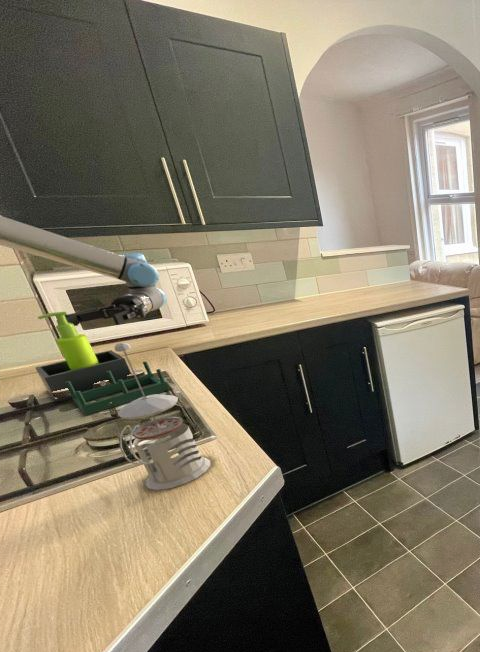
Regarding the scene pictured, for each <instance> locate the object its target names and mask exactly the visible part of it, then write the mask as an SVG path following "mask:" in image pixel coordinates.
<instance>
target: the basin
mask: <svg viewBox="0 0 480 652" xmlns="http://www.w3.org/2000/svg"><path fill="white" fill-rule="evenodd" d="M94 354H95V356H96V358H97V360H98V362H99V364H96V365H92V366H88V367H83V368H79V369H75V370H70V368H69V366H68V364H67V362H66V360H61V361H58V362H53V363H49V364H44V365H39V366H35V367H34V368H35V371H36V372H37V374H38V376H39V377H40V379H41V381H42V383H43V385H44V387H45V388H46V390H47V392H48V393H49V394H50V395H51V397H52V398H53V399H54V400H55V401H56V402H57V403H61V402H66V401H69V400H73V399H72V397H71V396H69V397H66V398H58V399H55V398H54V396H53V395H52V392H53V391H57V390H61V389H65V388H68V387H67V385H66V383H65V382H67V381H70V382H71V384H72V386H73V388H74V390H75V392H76V391H80V392H83V391H87V390H91V389H93V384H94V383H97V382H99V381H103V380H109V382H110V379H109V377H108V375H107V373H106V371H111V373H112V375H113V378H114V380H115V382H118V380H120V379H122V380H123V381H124V380H127V375H129V374H132V372H131V370H130V369H131V368H130V366H129V364H128V362H127V360H126V359H125V358H126V357H125V358H124V357H123V356H122V355H120V354H118V353H117V352H116V351H113V350H112V349H110V350H107V351H106V350H104V351H101V352H97V353H94ZM110 383H111V382H110Z"/></svg>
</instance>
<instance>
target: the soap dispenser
mask: <svg viewBox="0 0 480 652" xmlns="http://www.w3.org/2000/svg"><path fill="white" fill-rule="evenodd" d="M67 314H68V313H67V311H56V312H55V311H54V312H48V313H45V314H42V315H39V316H38V317H37V320H42V319H43V320H44V319H45V318H50V317H55V319H56V320H57V321H58V323H59V324H58V323H57V325H55V329H56V331H57V332H58V334H59V336H60V337H59V338H57V339H56V340H55V342H56V344H57V347H58V348H59V350H60V352H61V354H62V356H63V359H64V361H66V362H67V364H68V366H69V368H70V370H75V369H79V368H83V367H88V366H92V365H96V364H99V362H98V360H97V358H96V356H95V354H96V353H95V351H94V349H93V347H92V345H91V343H90V341H89V339H88V337H87V335H86V334H84V333H83V334H81V333H80V334H79V332H78V330H77V328H76V326H74V324H73V323H68V322H67V319H66V317H65V315H67ZM57 321H56V322H57Z"/></svg>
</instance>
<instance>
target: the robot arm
mask: <svg viewBox="0 0 480 652" xmlns="http://www.w3.org/2000/svg"><path fill="white" fill-rule="evenodd" d="M0 246H1V247H2V246H3V247H6V248H9V249H13V250H16V251H20V252H23V253H27V254H30V255H33V256H37V257H41V258H44V259H47V260H50V261H54V262H58V263H60V264H65V265H68V266H71V267H75V268H78V269H80V270H81V269H82V270H85V271H89V272H91V273H96V274H99V275H102V276H106V277H110V278H113V279H116V280H119V281H122V282H125V284H126V286H127V289H128V291H129V293H126V294H124V295H120V296H118V297H115V298H113V299H112V301H111V303H110V304H109V305H106V306H102V307H97V306H96V307H94V308H90V309H86V310H82V311H77V312H73V313H69V314H68V313H67V315H65V317H66V319H67V322H68V323H73V324H74V326H75V327H79V325H80V324H81V323H84V322H90V321H94V320H98V319H103V320H108V319H113V321H114V323H115V325H117V326H119V325H121V324H124V323H126V322H129V321H132V320H134V319H137V318H139V317H140V318H145V317H146V316H147V315H146V314H148V313H150V312H153V311H156V310H160V308H162V307H163V306H164V305H165V304H166V303H167V294H166V293H165V292H164V291H163V290H162V289H160V288H159V287H157V285H156V284H158V282H159V280H160V275H159V272H158V270H157V268H155V266H153V265H152V264H150V263H148V261H147V260H146V256H145V255H144V254H143V253H139V252H135V253H133V252H132V253H123V254H118V253H116V252H113V251H109V250H107V249H103V248H101V247H97V246H96V245H95V246H94V245H91V244H88V243H85V242H82V241H79V240H77V239H73V238H70V237H68V236H64V235H61V234H58V233H55V232H51V231H48V230H45V229H42V228H39V227H36V226H33V225H30V224H28V223H24V222H21V221H18V220H15V219H11V218H10V217H9V218H8V217H6V216H2V215H1V214H0ZM56 323H57V325H58V324H59V323H58V321H57V319H56Z"/></svg>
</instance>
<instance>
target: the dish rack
mask: <svg viewBox="0 0 480 652" xmlns="http://www.w3.org/2000/svg"><path fill="white" fill-rule="evenodd" d="M142 364H143V366H144V369H145V371H146V373H147V374H142V375H138V376H139V377H138V376H136V377H137V379H138V381H139V383H140V386H141V388H142V390H143V392H144V394H145V396H149V395H155V394H161V393H165V392H167V391H170V390H171V389H170V386H169V383H168V381H166V379H165V377H164V374H163V372H162V370H161V368H157V369H155V371H156V373H157V376H158V377H157V376H155V373H153V372H152V370H151V367H150V365H149V363H148V361H142ZM106 373H107V375H108V377H109V379H110V382H111V384H109V385H105V386H102V387H98V388H94V389H91V390H87V391H83V392H80V391H76V392H75V390H74V388H73V386H72V384H71V382H70V381H67V382H65V383H66V385H67V387H68V389H69V391H70V393H71V397H72V399H71V400H72V401H73V402H74V404H75V405H76V406H77V407H78V409H80V411H82V413H83V414H84V415H85V416H89V415H93V414H96V413H99V412H102V411H106V410H108V409H109V410H110V409H112V408H116V407H118V406H122V405H125V404H129V403H130V402H132V401H134V400H136V399H138V398H141V397H144V396H143V394H142V392H141V389H140V387H139V385H138V383H137V381H136V378H135V377H133V378H131V379H127V380H124V381H123V380H122V379H120V380H118V382H115V380H114V378H113V375H112V373H111V371H106ZM148 384H150V385H148ZM144 385H147V386H144ZM142 386H143V387H142ZM134 388H136V389H134ZM131 389H133V390H131ZM120 392H122V393H120ZM117 393H119V394H117ZM113 394H116V395H113ZM111 395H112V396H111ZM107 396H108V397H107ZM103 397H105V398H103ZM100 398H102V399H100ZM96 399H97V400H96ZM93 400H95V401H93ZM90 401H92V402H90ZM87 402H89V403H87ZM109 402H112V404H109ZM108 404H109V405H108Z"/></svg>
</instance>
